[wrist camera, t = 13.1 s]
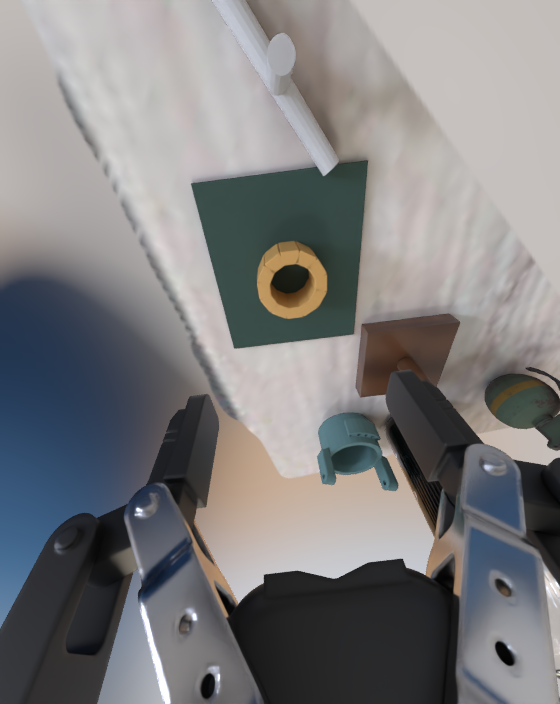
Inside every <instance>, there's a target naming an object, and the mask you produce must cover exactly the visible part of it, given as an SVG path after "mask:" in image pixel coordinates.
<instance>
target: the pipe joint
mask: <svg viewBox="0 0 560 704" xmlns="http://www.w3.org/2000/svg"><path fill="white" fill-rule="evenodd" d="M211 1H212V2H213V4H214V5H215V7H216V8H217V10H218V12H219V13H220V15H221V16H222V18H223V19H224V21H225V23H226V24H227V26H228V27H229V29H230V30H231V32H232V34H233V35H234V37H235V38H236V40H237V41H238V43H239V45H240V46H241V48H242V49H243V51H244V52H245V54H246V56H247V57H248V59H249V60H250V62H251V63H252V65H253V67H254V68H255V70H256V71H257V73H258V74H259V76H260V78H261V79H262V81H263V82H264V84H265V85H266V87H267V88H268V90H269V92H270V93H271V95H272V96H273V98H274V99H275V101H276V103H277V104H278V106H279V107H280V109H281V110H282V112H283V114H284V115H285V117H286V118H287V120H288V121H289V123H290V125H291V126H292V128H293V129H294V131H295V132H296V134H297V136H298V137H299V139H300V140H301V142H302V143H303V145H304V147H305V148H306V150H307V151H308V153H309V154H310V156H311V158H312V159H313V161H314V162H315V164H316V165H317V167H318V169H319V170H320V172H321V173H322V175H323V176H325V175H326V174H327V173H328V172H329V171H331V170H332V169H333V168H334V167H335V166H336V164H337V163H338V162H339V161H340V160H339V158H338V157H337V155H336V153H335V152H334V150H333V148H332V146H331V145H330V143H329V141H328V140H327V138H326V136H325V135H324V133H323V131H322V129H321V128H320V126H319V124H318V123H317V121H316V119H315V117H314V116H313V114H312V112H311V111H310V109H309V107H308V106H307V104H306V102H305V100H304V99H303V97H302V95H301V94H300V92H299V90H298V89H297V87H296V85H295V83H294V82H293V80H292V78H291V76H292V72H293V67H294V63H295V59H296V52H295V47H294V44H293V42H292V40H291V39H290V37H289V36H288V35H286V34H284V33H279V34H276V35H275V36H274V37H273V38H272V40H271V42H270V41H269V39H268V37H267V36H266V34H265V32H264V31H263V29H262V27H261V25H260V24H259V22H258V20H257V19H256V17H255V15H254V14H253V12H252V10H251V8H250V7H249V5H248V3H247V2H246V0H211Z"/></svg>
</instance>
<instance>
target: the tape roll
mask: <svg viewBox="0 0 560 704" xmlns="http://www.w3.org/2000/svg"><path fill="white" fill-rule="evenodd" d="M293 264H298V265H300V266H303V267H305V268H307V269H308V270H309V278H308V280H307V282H306V284H305V286H304V287H303V288H301V289H300V290H299V291H297V292H295V293H287V294H285V293H283V292H280V291H278V290H276V289H275V287H274V286H273V285H272V283H271V281H272V278H273V276H274V274H275V272H277V271H278V270H279V269H281V268H282V267H283V266H285V265H293ZM257 287H258V293H259V299H260V301H261V302H262V303H263V305H264V306H265V307H266V308H267V309H268V310H269V312H272V314H274V315H277V316H280V317H283V318H285V319H286V318H287V319H291V318H299V317H303V316H306V315H307V314H309V313H310V312H312V311H313V310H315V309H316V308H318V307H319V305H320V304H321V302H322V300H323V298H324V297H325V295H326V293H327V292H326V291H327V274H326V271H325V269H324V267H323V266H322V264H321V263H320V261H319V259H318V258H317V256H316V255H315V253H314V252H313V251H312V249H310V247H308V246H306V245H303V244H301V243H299V242H297V241H296V242H295V241H288V242H281V243H278V244H276V245H274V246H273V247H272V248H271V249H269V250H268V251H267V252H266V253H265V254H264V255H263V257H262V259H261V262H260V265H259V267H258V274H257ZM317 306H318V307H317Z"/></svg>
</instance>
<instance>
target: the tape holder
mask: <svg viewBox="0 0 560 704" xmlns="http://www.w3.org/2000/svg"><path fill="white" fill-rule="evenodd" d="M459 324H460V321H458V320H457V319H455V318H454V317H453V316H451V315H450V314H443V315H435V316H427V317H419V318H410V319H402V320H394V321H386V322H377V323H369V324H362V330H361V340H360V349H359V359H358V369H357V379H356V389H357V391H358V393H359V396H360V397H368V396H376V395H385V394H386V392H387V388H388V383H389V378H390V374H391V372H394V371H402V370H412V371H413V372H414V373H415V374H416V375H417V377H418V378H419V379H420V381H421V380H427V381H428V382H430V383H431V384H433V385H434V386H435V387H437V384H438V381H439V378H440V376H441V373H442V370H443V368H444V365H445V362H446V360H447V357H448V354H449V351H450V349H451V346H452V343H453V341H454V338H455V335H456V332H457V330H458V327H459Z"/></svg>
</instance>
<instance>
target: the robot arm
mask: <svg viewBox="0 0 560 704" xmlns="http://www.w3.org/2000/svg"><path fill="white" fill-rule="evenodd" d="M386 404H387V407H388V410H389V412H390V414H391V415H392V417H393V419H394V421H395V423H396V425H397V426H398V428H399V430H400V432H401V434H402V436H403V437H404V439H405V441H406V443H407V445H408V447H409V449H410V450H411V452H412V454H413V456H414V458H415V460H416V461H417V463H418V465H419V467H420V469H421V471H422V473H423V474H424V476H425V478H426V480H427V482H431V481H439V482H440V484H441V485H442V487H443V489H442V491H441V497H440V504H439V511H438V518H437V525H436V532H435V539H434V543H433V547H432V549H431V552H430V556H429V559H428V564H427V569H426V575H424V574H422V573H420V572H417V571H415V570H412V569H409V568H406V566H405V564H404V561H403V559H395V560H387V561H378V562H370V563H367V564H365V565H363V566H361V567H359V568H357V569H355V570H353V571H351V572H349V573H347V574H345V575H343V576H341V577H339V578H337V579H332V578H327V577H323V576H319V575H314V574H310V573H305V572H301V571H291V572H282V573H275V574H266V575H264V583H263V584H261V585H259V586H258V587H256V588H255V589H253V590H252V591H251V592H250V593H248V594H247V595H246V596H245V597H244V598H243V599H242V600H241V602H240V603H239V604H238V602H237V600H236V598H235V596H234V594H233V592H232V590H231V588H230V586H229V584H228V583H227V581H226V579H225V577H224V576H223V574H222V573H221V571H220V569H219V568H218V566H217V564H216V562H215V560H214V558H213V556H212V554H211V552H210V550H209V548H208V546H207V544H206V542H205V540H204V538H203V536H202V535H201V532H200V530H199V528H198V527H197V525H196V523H195V521H194V519H195V514H196V509H197V508H203V507H206V505H207V497H208V492H209V485H210V479H211V474H212V468H213V462H214V456H215V449H216V443H217V437H218V431H219V421H218V416H217V413H216V411H215V408H214V406H213V403H212V401H211V398H210V396H209V395H208V394H204V395H197V396H190V397H189V399H188V403H187V405H186V408H185V409H181V410H178V412H177V413H176V414H175V415H174V416H173V418H172V419H171V420H170V423H169V426H168V429H167V431H166V432H167V433H166V434H165V437H164V439H163V443H162V445H161V448H160V450H159V453H158V456H157V459H156V461H155V464H154V467H153V470H152V473H151V475H150V478H149V481H148V483H147V484H146V486H144V487H143V488H141V489H140V490H139V491H137V492H136V493H135V495H134V496H133V497H132V498H131V500H130V501H129V503H128V504H126V505H124V506H122V507H120V508H118V509H116V510H113V511H111V512H109V513H107V514H104V515H102V516H100V517H98V518H96V517H94V516H93V515H91V514H89V513H81V514H78V515H75V516H73V517H71V518H70V519H68V520H66V521H65V522H64V523H63V524H61V525H60V526H59V527H58V528H57V529H56V530H55V531H54V532H53V534H52V535H51V536H50V538H49V539H48V541H47V542H46V544H45V546H44V548H43V550H42V552H41V553H40V555H39V557H38V559H37V561H36V563H35V565H34V567H33V568H32V570H31V572H30V574H29V576H28V578H27V580H26V582H25V583H24V585H23V587H22V589H21V591H20V593H19V595H18V597H17V598H16V600H15V602H14V604H13V606H12V608H11V610H10V611H9V613H8V615H7V617H6V619H5V621H4V623H3V624H2V626H1V628H0V704H97V702H98V698H99V695H100V691H101V688H102V684H103V680H104V677H105V673H106V670H107V666H108V662H109V659H110V655H111V651H112V648H113V644H114V640H115V637H116V633H117V629H118V626H119V622H120V619H121V615H122V611H123V608H124V604H125V600H126V597H127V593H128V589H129V586H130V582H131V578H132V575H133V572H134V571H136V570H138V571H139V574H140V577H141V582H142V587H141V589H140V590H139V592H138V603H139V607H140V612H141V616H142V620H143V623H144V627H145V631H146V635H147V639H148V643H149V647H150V650H151V654H152V658H153V662H154V666H155V670H156V673H157V677H158V681H159V685H160V689H161V693H162V697H163V700H164V704H560V698H559V694H558V684H557V676H556V668H555V660H554V651H553V643H552V635H551V627H550V619H549V610H548V602H547V594H546V586H545V578H544V570H543V563H544V564H545V565H546V567H547V568H548V570H549V571H550V573H551V574H552V576H553V577H554V579H555V580H556V582H557V583H558V585H559V586H560V458H556V459H554V460H553V461H552V462H551V463H550V464H549V465H548V466H546V465H541V464H535V463H529V462H523V461H517V460H513V459H512V458H511V457H509V456H508V455H507V454H506V453H504V452H503V451H501V450H499V449H497V448H495V447H493V446H490V445H485V444H484V443H483V442H482V441H481V440H480V438H479V437H478V436H477V435H476V434H475V432H474V431H473V430H472V429H471V428H470V426H469V425H468V424H467V423H466V422H465V420H464V419H463V418H462V417H461V416H460V414H459V413H458V412H457V411H456V409H453V406H452V405H451V403H450V402H449V401H448V400H446V397H445V396H444V395H443V394H442V393H441V391H440V390H439V389H438V388H437V387H435V386H434V385H433V384H431V383H430V382H428V381H427V380H421V381H420V379H419V378H418V377H417V375H416V374H415V373H414V372H413V371H412V370H402V371H394V372H391V374H390V378H389V383H388V388H387V392H386ZM528 540H529V541H528ZM542 561H543V562H542Z"/></svg>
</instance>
